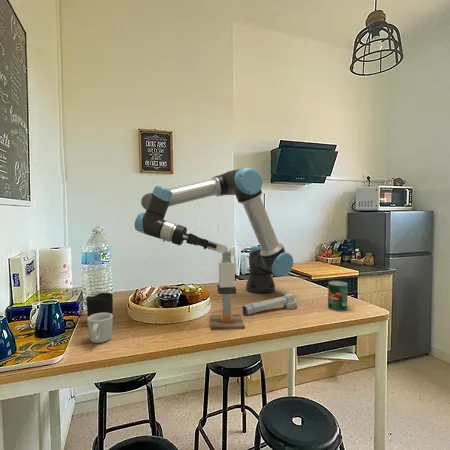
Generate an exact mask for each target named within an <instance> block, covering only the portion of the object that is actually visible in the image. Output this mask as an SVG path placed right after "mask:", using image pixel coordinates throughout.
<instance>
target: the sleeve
mask: <svg viewBox="0 0 450 450" xmlns="http://www.w3.org/2000/svg"><path fill="white" fill-rule="evenodd" d="M235 266H236V265H235V261H234V260H233V259H231V263H222V260H218V285H219V286H220V288H223V287H236V285H235V284H236V283H235V280H236V279H235V273H236V272H235V269H236V267H235Z"/></svg>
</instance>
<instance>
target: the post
mask: <svg viewBox="0 0 450 450" xmlns="http://www.w3.org/2000/svg"><path fill="white" fill-rule="evenodd" d="M221 255H222V263H231V260H232V258H231V251H227V252H225V253H221ZM223 288H231V287H223ZM231 300H232V294H222V311H221V312H222V314H219V315H220V321H221V323H234V318H233V314H232V309H231V307H232V305H231V303H232V301H231Z"/></svg>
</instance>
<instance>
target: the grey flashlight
mask: <svg viewBox="0 0 450 450" xmlns="http://www.w3.org/2000/svg"><path fill="white" fill-rule="evenodd" d="M297 303H298V301H297V299H296V298H295V295H294V293H291V292H288V293H285V294H284V295H283V296H279V297H275V298H270V299H266V300H262V301H258V302H257V301H256V302H253V303H252V302H249V304H245V305H242V307H241V309H242V313H243V315H244V316H249V315H255V314H256V313H259V312H262V311H265V310H268V309H272V308H275V307H278V306H282V305H283V308H284V309H286V310H290V309H291V310H293V309H294V310H295V308H297Z"/></svg>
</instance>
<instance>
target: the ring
mask: <svg viewBox="0 0 450 450" xmlns="http://www.w3.org/2000/svg"><path fill="white" fill-rule="evenodd" d="M216 286H217V293H218V295H223V294H231V295H237V288H236V286H235V287H231V288H220V286H219V284H217V285H216Z"/></svg>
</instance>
